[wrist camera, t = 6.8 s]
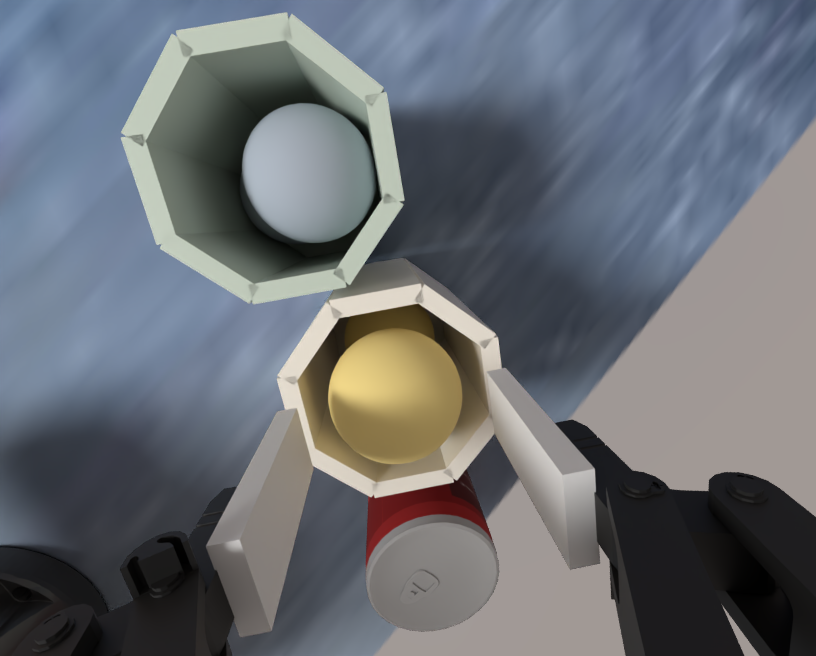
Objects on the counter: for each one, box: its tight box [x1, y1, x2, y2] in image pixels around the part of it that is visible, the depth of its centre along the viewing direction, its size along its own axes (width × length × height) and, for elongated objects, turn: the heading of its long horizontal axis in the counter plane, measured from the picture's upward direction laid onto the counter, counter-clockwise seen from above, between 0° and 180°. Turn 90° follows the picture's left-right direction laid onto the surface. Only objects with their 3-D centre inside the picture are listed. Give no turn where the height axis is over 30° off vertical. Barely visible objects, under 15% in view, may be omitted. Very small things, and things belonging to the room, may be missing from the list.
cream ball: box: [344, 304, 435, 350], centre depth 27 cm, size 6×6×6 cm
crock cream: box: [277, 258, 502, 498], centre depth 24 cm, size 10×10×13 cm
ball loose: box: [328, 328, 462, 464], centre depth 18 cm, size 6×6×6 cm
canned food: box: [366, 469, 499, 632], centre depth 28 cm, size 8×8×11 cm
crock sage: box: [121, 12, 405, 304], centre depth 21 cm, size 10×10×13 cm
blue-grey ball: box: [242, 103, 376, 243], centre depth 19 cm, size 6×6×6 cm
